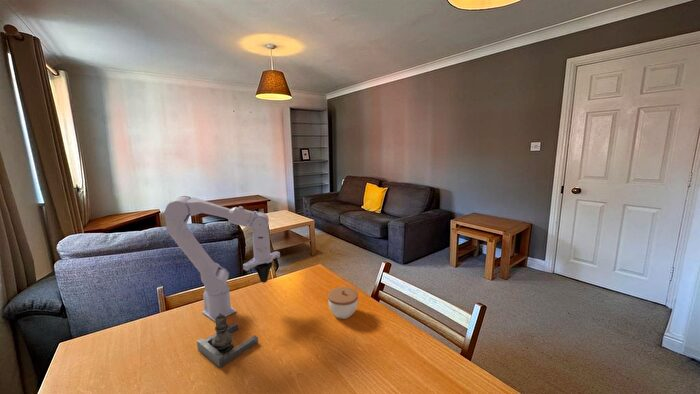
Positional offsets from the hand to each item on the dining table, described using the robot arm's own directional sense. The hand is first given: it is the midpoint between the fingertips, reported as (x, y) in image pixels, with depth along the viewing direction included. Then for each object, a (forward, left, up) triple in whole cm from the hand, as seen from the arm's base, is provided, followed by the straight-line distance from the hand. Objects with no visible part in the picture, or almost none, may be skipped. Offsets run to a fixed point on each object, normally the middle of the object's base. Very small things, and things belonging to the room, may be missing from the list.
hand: (263, 281), depth 105 cm
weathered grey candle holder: (+8, -21, -11) cm, 25 cm away
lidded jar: (+26, +14, -11) cm, 31 cm away
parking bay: (+8, -20, -10) cm, 24 cm away
